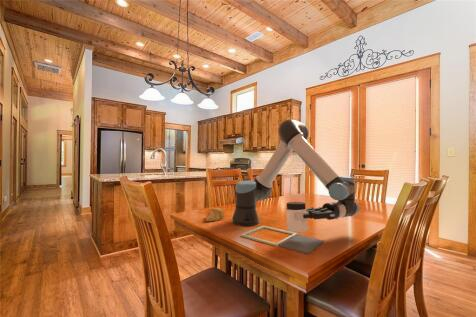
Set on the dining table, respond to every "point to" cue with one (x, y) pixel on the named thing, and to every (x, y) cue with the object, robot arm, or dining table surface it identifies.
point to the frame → (269, 241)
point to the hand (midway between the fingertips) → (295, 216)
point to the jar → (294, 224)
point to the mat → (302, 244)
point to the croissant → (215, 214)
